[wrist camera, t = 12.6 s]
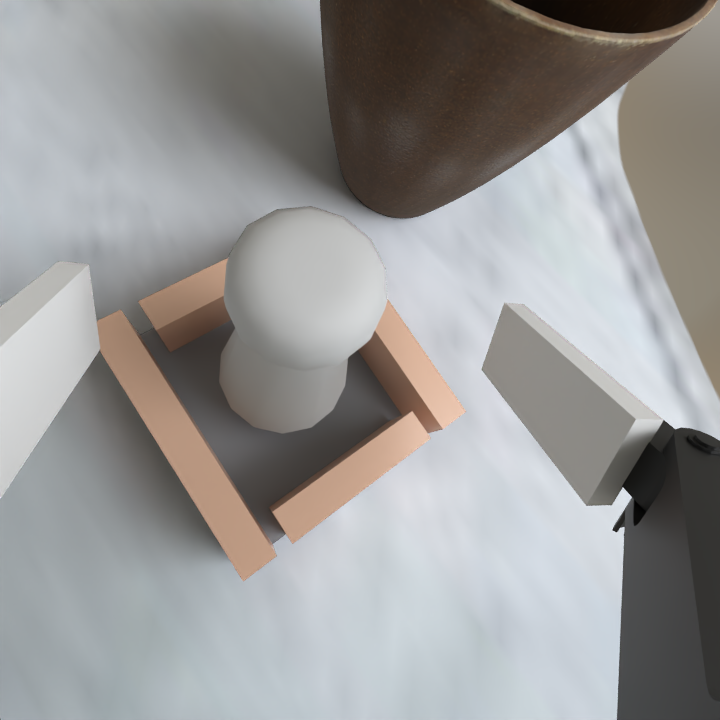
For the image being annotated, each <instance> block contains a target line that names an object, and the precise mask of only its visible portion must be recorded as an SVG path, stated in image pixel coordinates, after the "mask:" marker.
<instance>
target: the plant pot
mask: <svg viewBox="0 0 720 720" xmlns="http://www.w3.org/2000/svg"><path fill="white" fill-rule="evenodd" d="M717 1H718V0H320V11H321V30H322V46H323V57H324V69H325V79H326V88H327V97H328V104H329V111H330V119H331V124H332V129H333V135H334V141H335V146H336V151H337V155H338V160H339V164H340V168H341V172H342V175H343V177H344V180H345V182H346V184H347V185H348V187H349V189H350V190H351V191H352V193H353V194H354V195H355V196H356V197H357V198H358V199H359V200H360V201H361V202H362V203H363V204H365V205H366V206H367V207H369V208H370V209H372V210H374V211H376V212H378V213H380V214H383V215H386V216H390V217H395V218H413V217H418V216H421V215H424V214H426V213H428V212H431V211H433V210H435V209H437V208H440V207H442V206H444V205H446V204H448V203H450V202H452V201H454V200H456V199H458V198H460V197H462V196H464V195H465V194H467V193H469V192H471V191H473V190H475V189H476V188H478V187H480V186H482V185H483V184H485V183H487V182H488V181H490V180H492V179H493V178H495V177H496V176H498V175H500V174H501V173H503V172H504V171H506V170H508V169H509V168H511V167H512V166H514V165H515V164H517V163H518V162H520V161H521V160H523V159H524V158H526V157H527V156H529V155H530V154H532V153H533V152H535V151H536V150H538V149H539V148H540V147H542V146H543V145H545V144H546V143H548V142H549V141H551V140H552V139H553V138H555V137H556V136H558V135H559V134H560V133H562V132H563V131H564V130H566V129H567V128H568V127H570V126H571V125H572V124H574V123H575V122H576V121H578V120H579V119H580V118H582V117H583V116H584V115H586V114H587V113H588V112H590V111H591V110H592V109H594V108H595V107H596V106H598V105H599V104H600V103H601V102H603V101H604V100H605V99H606V98H608V97H609V96H610V95H611V94H613V93H614V92H615V91H616V90H618V89H619V88H620V87H622V86H623V85H624V84H625V83H626V82H628V81H629V80H630V79H631V78H633V77H634V76H635V75H636V74H638V73H639V72H640V71H641V70H643V69H644V68H645V67H646V66H647V65H649V64H650V63H651V62H652V61H654V60H655V59H656V58H657V57H658V56H659V55H661V54H662V53H663V52H665V51H666V50H667V49H668V48H669V47H671V46H672V45H673V44H674V43H675V42H676V41H677V40H679V39H680V38H681V37H682V36H684V35H685V34H686V33H687V32H688V31H690V30H691V29H692V28H693V27H694V26H696V25H697V24H698V23H699V22H700V21H701V20H702V19H704V18H705V17H706V16H707V15H708V14H709V13H710V11H711V10H712V9H713V8H714V6H715V4H716V3H717Z"/></svg>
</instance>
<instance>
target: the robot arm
mask: <svg viewBox="0 0 720 720" xmlns="http://www.w3.org/2000/svg"><path fill="white" fill-rule="evenodd" d="M99 350H100V342H99V335H98V328H97V320H96V313H95V306H94V298H93V291H92V284H91V276H90V269H89V264H83V263H72V262H62V261H58V262H57V263H55V264H54V265H53V266H52V267H50V268H49V269H48V270H47V271H45V272H44V273H43V274H42V275H40V276H39V277H38V278H36V279H35V280H34V281H33V282H31V283H30V284H29V285H28V286H26V287H25V288H24V289H22V290H21V291H20V292H19V293H17V294H16V295H15V296H14V297H12V298H11V299H10V300H9V301H7V302H6V303H5V304H3V305H2V306H1V307H0V499H1V498H2V496H3V495H4V493H5V492H6V490H7V489H8V487H9V486H10V484H11V483H12V481H13V480H14V478H15V477H16V475H17V474H18V472H19V471H20V469H21V468H22V466H23V465H24V463H25V462H26V460H27V459H28V457H29V456H30V454H31V453H32V451H33V450H34V448H35V447H36V445H37V444H38V442H39V441H40V439H41V438H42V436H43V435H44V433H45V432H46V430H47V429H48V427H49V425H50V424H51V422H52V421H53V419H54V418H55V416H56V415H57V413H58V412H59V410H60V409H61V407H62V406H63V404H64V403H65V401H66V400H67V398H68V397H69V395H70V394H71V392H72V391H73V389H74V388H75V386H76V385H77V383H78V382H79V380H80V379H81V377H82V376H83V374H84V373H85V371H86V370H87V368H88V367H89V365H90V364H91V362H92V361H93V359H94V358H95V356H96V355H97V353H98V352H99ZM482 371H483V372H484V373H485V375H486V376H487V377H488V379H489V380H490V381H491V383H492V384H493V385H494V386H495V388H496V389H497V390H498V392H499V393H500V394H501V395H502V397H503V398H504V399H505V401H506V402H507V403H508V405H509V406H510V407H511V408H512V410H513V411H514V412H515V414H516V415H517V416H518V418H519V419H520V420H521V421H522V423H523V424H524V425H525V427H526V428H527V429H528V431H529V432H530V433H531V434H532V436H533V437H534V438H535V440H536V441H537V442H538V443H539V445H540V446H541V447H542V449H543V450H544V451H545V453H546V454H547V455H548V456H549V458H550V459H551V460H552V462H553V463H554V464H555V466H556V467H557V468H558V469H559V471H560V472H561V473H562V475H563V476H564V477H565V479H566V480H567V481H568V482H569V484H570V485H571V486H572V488H573V489H574V490H575V491H576V493H577V494H578V495H579V497H580V498H581V499H582V501H583V502H584V503H585V504H586V506H592V505H612V504H613V502H614V501H615V499H616V497H617V496H618V494H619V492H620V491H621V489H622V487H624V489H625V490H626V491H627V492H628V493H629V494H630V495H631V496H632V499H631V500H630V502H629V503H628V505H627V507H626V508H625V510H624V511H623V513H622V514H621V516H620V517H619V519H618V521H617V522H616V524H615V525H614V527H613V531H615V532H617V531H618V530H619V528H621V527H625V532H624V558H623V583H622V608H621V633H620V659H619V684H618V709H617V720H720V441H719V440H717V439H716V438H714V437H712V436H710V435H708V434H705V433H703V432H700V431H697V430H694V429H690V428H679V429H676V430H675V429H674V428H673V427H672V426H670V425H669V424H668V423H667V422H665V421H664V420H663V419H662V418H661V417H660V416H658V415H657V414H656V413H655V412H654V411H652V410H651V409H650V408H649V407H648V406H646V405H645V404H644V403H643V402H641V401H640V400H639V399H638V398H637V397H635V396H634V395H633V394H632V393H631V392H629V391H628V390H627V389H626V388H624V387H623V386H622V385H621V384H620V383H618V382H617V381H616V380H615V379H614V378H612V377H611V376H610V375H609V374H608V373H606V372H605V371H604V370H603V369H601V368H600V367H599V366H598V365H597V364H595V363H594V362H593V361H592V360H591V359H589V358H588V357H587V356H586V355H585V354H583V353H582V352H581V351H580V350H578V349H577V348H576V347H575V346H574V345H572V344H571V343H570V342H569V341H568V340H566V339H565V338H564V337H563V336H561V335H560V334H559V333H558V332H557V331H555V330H554V329H553V328H552V327H551V326H549V325H548V324H547V323H546V322H545V321H543V320H542V319H541V318H540V317H538V316H537V315H536V314H535V313H534V312H532V311H531V310H530V309H529V308H528V307H526V306H525V305H524V304H514V303H504V305H503V308H502V311H501V314H500V317H499V320H498V323H497V326H496V329H495V332H494V335H493V337H492V340H491V343H490V346H489V349H488V352H487V355H486V358H485V361H484V364H483V367H482ZM0 720H1V719H0Z"/></svg>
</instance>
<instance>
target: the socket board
mask: <svg viewBox="0 0 720 720" xmlns="http://www.w3.org/2000/svg"><path fill="white" fill-rule="evenodd" d="M227 260H228V258H227V259H225V260H222V261H220V262H218V263H216V264H214V265H212V266H210V267H208V268H206V269H204V270H202V271H200V272H198V273H195V274H193V275H191V276H189V277H187V278H185V279H183V280H181V281H179V282H177V283H175V284H173V285H171V286H168V287H166V288H164V289H162V290H160V291H158V292H156V293H154V294H152V295H150V296H148V297H146V298H144V299H141V300H139V301H138V302H139V304H140V306H141V307H142V309H143V310H144V312H145V314H146V315H147V317H148V318H149V320H150V322H151V323H152V325H153V326H154V328H153V329H151V330H149V331H147V332H145V333H143V334H141V335H139V333H138V332H137V331H136V329H135V328H134V327H133V325H132V324H131V323H130V321H129V320H128V319H127V317H126V316H125V315H124V313H123V312H122V311H121V310H119V311H117V312H114V313H112V314H110V315H108V316H106V317H104V318H102V319H100V320H98V321H97V328H98V335H99V342H100V352H101V354H102V355H103V357H104V358H105V360H106V362H107V363H108V365H109V366H110V368H111V370H112V371H113V373H114V374H115V376H116V378H117V379H118V381H119V383H120V384H121V386H122V387H123V389H124V391H125V392H126V394H127V395H128V397H129V399H130V400H131V402H132V403H133V405H134V407H135V408H136V410H137V411H138V413H139V415H140V416H141V418H142V419H143V421H144V423H145V424H146V426H147V428H148V429H149V431H150V432H151V434H152V436H153V437H154V439H155V440H156V442H157V444H158V445H159V447H160V448H161V450H162V452H163V453H164V455H165V456H166V458H167V460H168V461H169V463H170V464H171V466H172V468H173V469H174V471H175V472H176V474H177V476H178V477H179V479H180V481H181V482H182V484H183V485H184V487H185V489H186V490H187V492H188V493H189V495H190V497H191V498H192V500H193V501H194V503H195V505H196V506H197V508H198V509H199V511H200V513H201V514H202V516H203V517H204V519H205V521H206V522H207V524H208V526H209V527H210V529H211V530H212V532H213V534H214V535H215V537H216V538H217V540H218V542H219V543H220V545H221V546H222V548H223V550H224V551H225V553H226V554H227V556H228V558H229V559H230V561H231V562H232V564H233V566H234V567H235V569H236V571H237V572H238V574H239V575H240V577H241V579H242V580H243V581H245V580H246V579H247V578H248V577H250V576H251V575H252V574H254V573H255V572H256V571H258V570H259V569H260V568H262V567H263V566H264V565H266V564H267V563H268V562H269V561H271V560H272V559H273V558H275V557H276V553H275V550H274V547H273V543H275V542H276V541H277V540H279V539H280V538H281V537H283V536H284V535H285V534H286V535H287V536H288V538H289V539H290V541H291V542H292V544H293V543H294V542H296V541H297V540H298V539H300V538H301V537H302V536H304V535H305V534H306V533H307V532H309V531H310V530H311V529H313V528H314V527H315V526H317V525H318V524H319V523H321V522H322V521H323V520H325V519H326V518H327V517H328V516H330V515H331V514H332V513H334V512H335V511H336V510H338V509H339V508H340V507H342V506H343V505H344V504H345V503H347V502H348V501H349V500H351V499H352V498H353V497H355V496H356V495H357V494H359V493H360V492H361V491H363V490H364V489H365V488H366V487H368V486H369V485H370V484H372V483H373V482H374V481H376V480H377V479H378V478H380V477H381V476H382V475H384V474H385V473H386V472H387V471H389V470H390V469H391V468H393V467H394V466H395V465H397V464H398V463H399V462H401V461H402V460H403V459H405V458H406V457H407V456H408V455H410V454H411V453H412V452H414V451H415V450H416V449H418V448H419V447H420V446H422V445H423V444H424V443H425V442H427V441H428V440H429V439H431V438H430V436H429V435H428V433H430V432H434V431H438V430H442V429H444V428H445V427H446V426H448V425H449V424H450V423H452V422H453V421H454V420H456V419H457V418H458V417H460V416H461V415H462V414H464V413H465V412H466V411H465V409H464V408H463V406H462V405H461V403H460V402H459V401H458V399H457V398H456V396H455V395H454V393H453V392H452V391H451V389H450V388H449V386H448V385H447V383H446V382H445V380H444V379H443V378H442V376H441V375H440V373H439V372H438V370H437V369H436V368H435V366H434V365H433V363H432V362H431V360H430V359H429V358H428V356H427V355H426V353H425V352H424V350H423V349H422V347H421V346H420V345H419V343H418V342H417V340H416V339H415V337H414V336H413V335H412V333H411V332H410V330H409V329H408V327H407V326H406V325H405V323H404V322H403V320H402V319H401V317H400V316H399V314H398V313H397V312H396V310H395V309H394V307H393V306H392V304H391V303H390V302H389V300H388V299H387V303H386V307H385V310H384V312H383V314H382V317H381V319H380V321H379V323H378V325H377V327H376V329H375V331H374V333H373V335H372V337H371V339H370V340H369V341H368V342H367V343H366V344H365V345H363V346H362V347H361V348H360V349H358V350H357V351H356V352H354V353H353V354H352V355H350V356H349V357H348V364H347V373H346V383H345V387H344V389H343V391H342V393H341V395H340V397H339V399H338V401H337V403H336V405H335V407H334V409H333V410H332V411H331V412H330V413H329V414H327V415H326V416H325V417H324V418H323V419H321V420H320V421H319V422H318V423H316V424H315V425H314V426H313V427H312V428H307V429H302V430H298V431H293V432H288V433H283V434H282V433H278V432H273V431H269V430H264V429H260V428H255V427H253V426H252V425H251V424H249V423H248V422H247V421H246V420H244V419H243V418H242V417H241V416H240V415H238V414H237V413H236V412H235V411H233V410H232V409H231V407H230V405H229V403H228V401H227V399H226V396H225V394H224V392H223V390H222V387H221V385H220V383H219V376H220V361H221V353H222V351H223V349H224V348H225V346H226V344H227V342H228V340H229V339H230V337H231V335H232V333H233V331H234V329H235V326H234V324H233V322H232V320H231V318H230V316H229V314H228V312H227V309H226V306H225V303H224V287H225V274H226V264H227Z"/></svg>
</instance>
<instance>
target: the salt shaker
mask: <svg viewBox="0 0 720 720" xmlns="http://www.w3.org/2000/svg"><path fill="white" fill-rule="evenodd" d="M224 303H225V306H226V309H227V312H228V314H229V316H230V318H231V320H232V322H233V324H234V326H235V329H234V331H233V333H232V335H231V337H230V339H229V340H228V342H227V344H226V346H225V348H224V349H223V351H222V353H221V361H220V376H219V383H220V385H221V387H222V390H223V392H224V394H225V396H226V399H227V401H228V403H229V405H230V407H231V409H232V410H233V411H235V412H236V413H237V414H238V415H240V416H241V417H242V418H243V419H244V420H246V421H247V422H248V423H249V424H251V425H252V426H253V427H255V428H260V429H264V430H269V431H273V432H278V433H282V434H283V433H288V432H293V431H298V430H302V429H307V428H312V427H313V426H314V425H315V424H316V423H318V422H319V421H320V420H321V419H323V418H324V417H325V416H326V415H327V414H329V413H330V412H331V411H332V410H333V409H334V407H335V405H336V403H337V401H338V399H339V397H340V395H341V393H342V391H343V389H344V387H345V383H346V373H347V364H348V357H349V356H350V355H352V354H353V353H354V352H356V351H357V350H358V349H360V348H361V347H362V346H363V345H365V344H366V343H367V342H368V341H369V340H370V339H371V337H372V335H373V333H374V331H375V329H376V327H377V325H378V323H379V321H380V319H381V317H382V314H383V312H384V310H385V307H386V303H387V282H386V268H385V266H384V264H383V262H382V260H381V258H380V256H379V254H378V252H377V250H376V248H375V246H374V244H373V242H372V240H371V238H369V237H368V236H367V235H366V234H364V233H363V232H362V231H361V230H359V229H358V228H357V227H356V226H355V225H353V224H352V223H351V222H350V221H348V220H347V219H346V218H345V217H342V216H339V215H336V214H333V213H330V212H327V211H324V210H321V209H318V208H315V207H312V206H309V207H298V208H287V209H277V210H275V211H273V212H271V213H269V214H268V215H266V216H264V217H262V218H260V219H258V220H257V221H255V222H253V223H251V224H249V225H247V227H246V228H245V230H244V232H243V233H242V235H241V236H240V238H239V240H238V241H237V243H236V244H235V246H234V247H233V249H232V251H231V252H230V254H229V257H228V260H227V264H226V274H225V287H224Z"/></svg>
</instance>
